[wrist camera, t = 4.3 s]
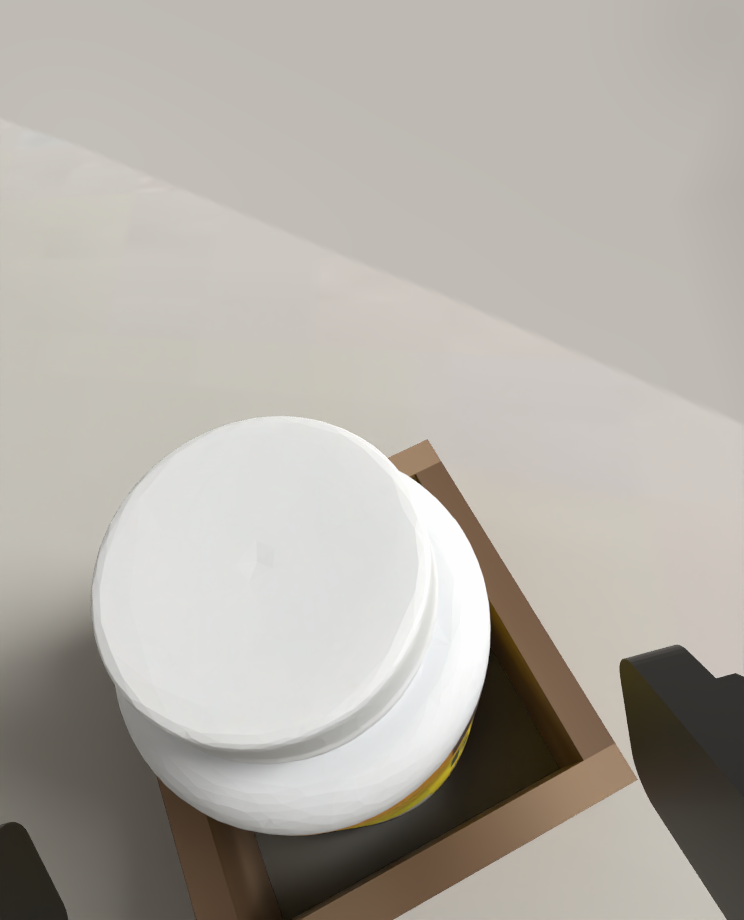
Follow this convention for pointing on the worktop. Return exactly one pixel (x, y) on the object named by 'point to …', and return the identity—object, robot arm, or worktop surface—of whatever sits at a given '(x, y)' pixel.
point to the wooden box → (478, 839)
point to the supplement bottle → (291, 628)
